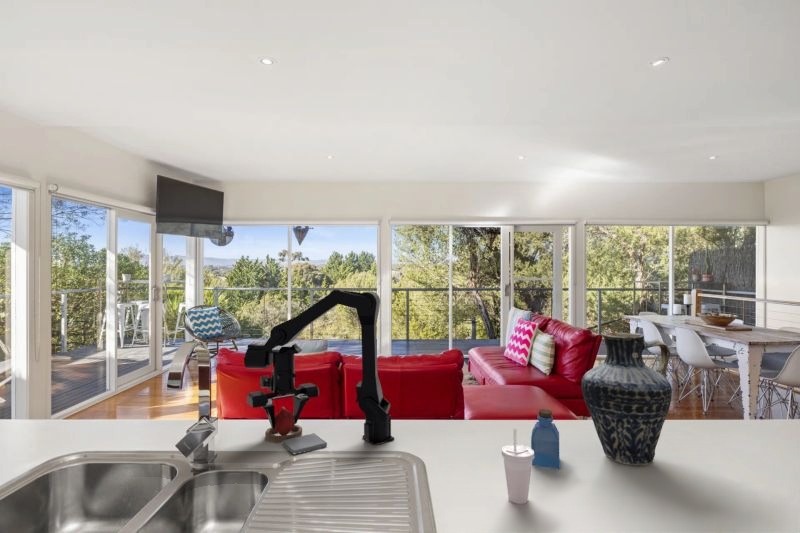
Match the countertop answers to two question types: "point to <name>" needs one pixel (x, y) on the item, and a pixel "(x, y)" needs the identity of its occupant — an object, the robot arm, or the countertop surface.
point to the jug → (628, 398)
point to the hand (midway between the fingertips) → (284, 425)
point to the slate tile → (304, 443)
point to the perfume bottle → (545, 441)
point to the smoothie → (517, 470)
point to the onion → (284, 422)
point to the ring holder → (280, 438)
